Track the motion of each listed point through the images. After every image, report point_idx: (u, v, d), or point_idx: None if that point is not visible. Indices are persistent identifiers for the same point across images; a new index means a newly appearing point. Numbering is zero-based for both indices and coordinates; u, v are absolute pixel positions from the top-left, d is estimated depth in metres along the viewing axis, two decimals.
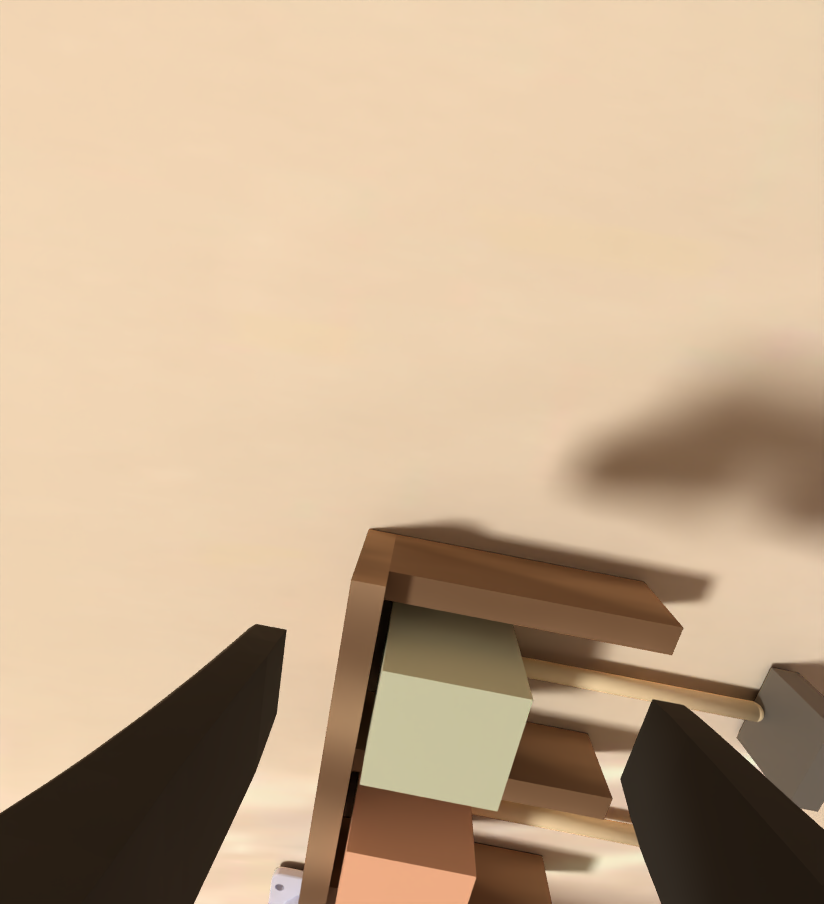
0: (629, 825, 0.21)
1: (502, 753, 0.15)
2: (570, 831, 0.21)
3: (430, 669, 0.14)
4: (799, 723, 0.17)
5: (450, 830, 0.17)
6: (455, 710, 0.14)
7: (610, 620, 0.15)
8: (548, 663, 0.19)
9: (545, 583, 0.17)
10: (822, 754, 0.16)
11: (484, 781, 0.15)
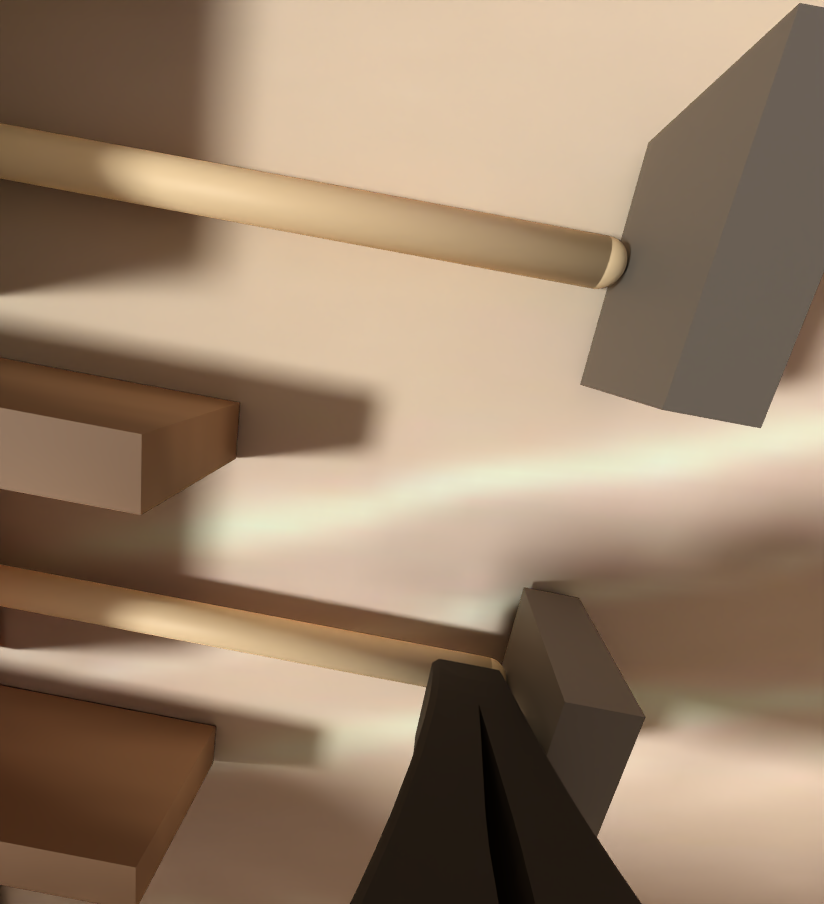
0: (359, 633, 0.09)
1: None
2: (209, 638, 0.09)
3: None
4: (700, 158, 0.05)
5: None
6: None
7: None
8: None
9: None
10: (767, 153, 0.04)
11: None
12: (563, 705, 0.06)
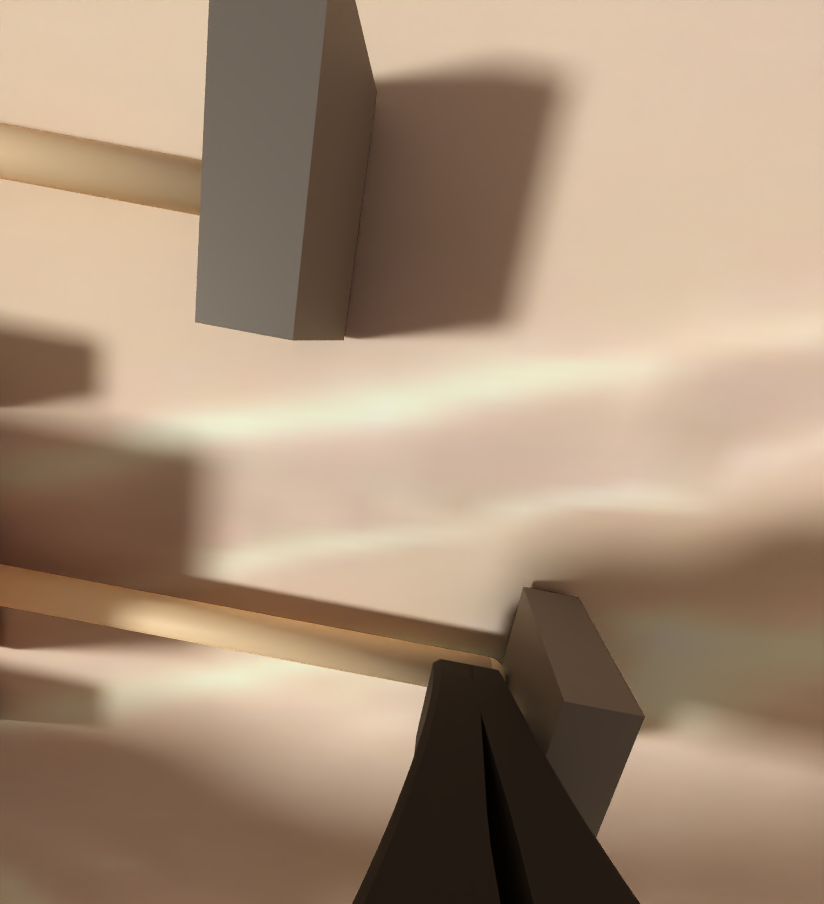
0: (359, 633, 0.09)
1: None
2: (208, 638, 0.09)
3: None
4: None
5: None
6: None
7: None
8: None
9: None
10: (221, 53, 0.04)
11: None
12: (562, 705, 0.06)
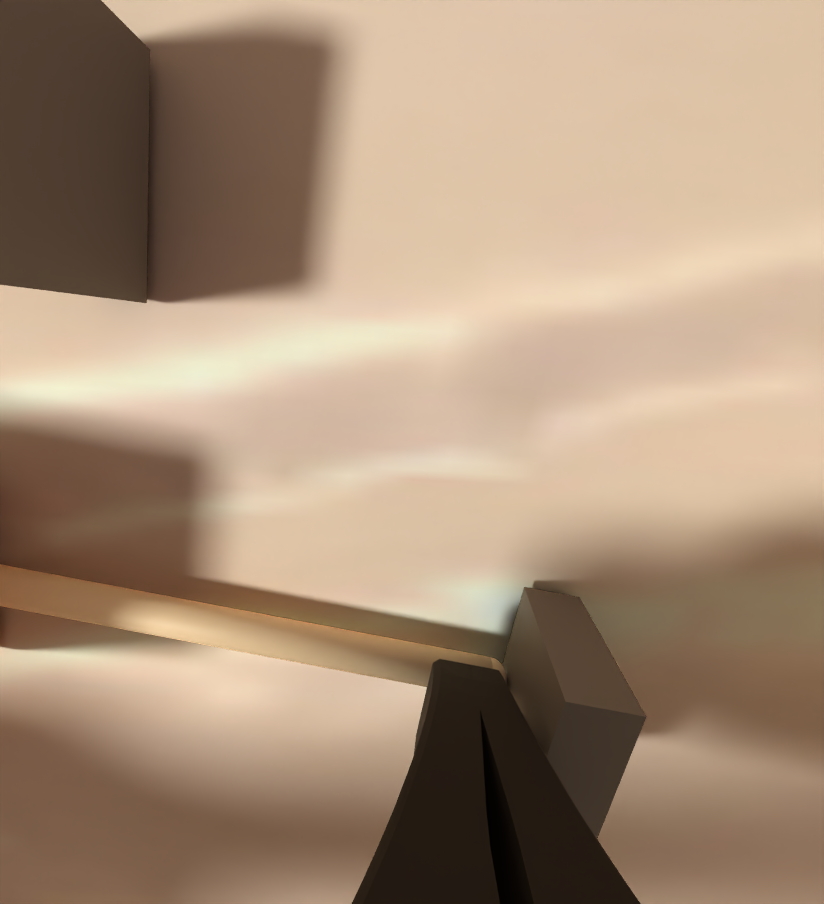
0: (359, 633, 0.09)
1: None
2: (209, 638, 0.09)
3: None
4: None
5: None
6: None
7: None
8: None
9: None
10: None
11: None
12: (564, 705, 0.06)
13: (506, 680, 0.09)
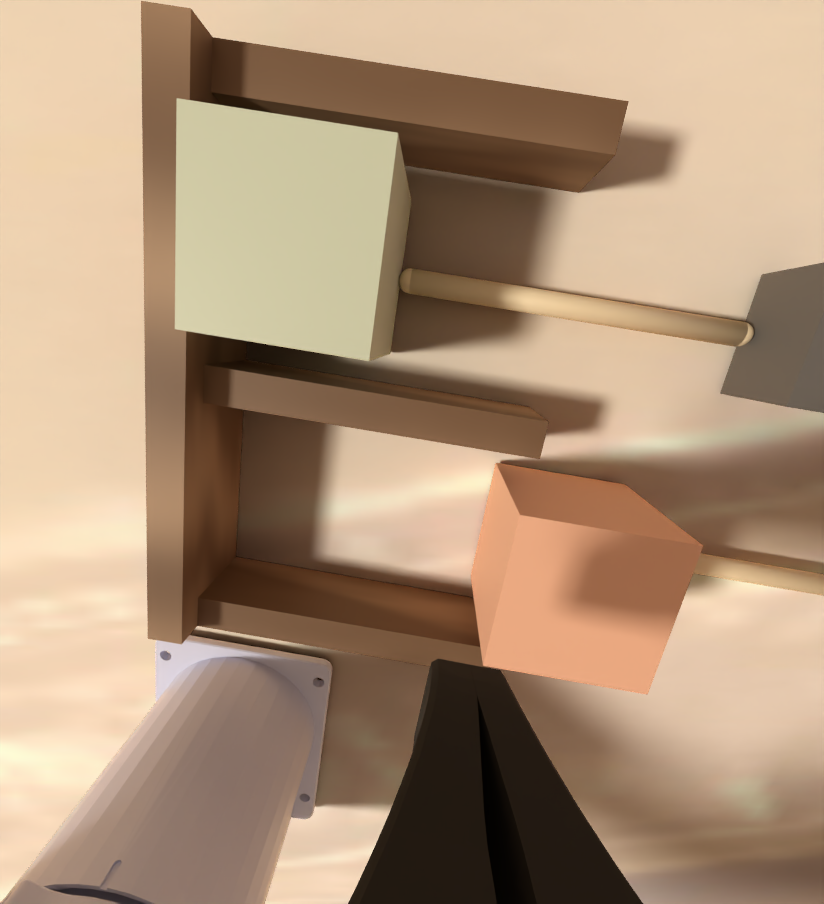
0: None
1: (364, 246, 0.10)
2: (763, 578, 0.16)
3: None
4: (799, 299, 0.13)
5: (644, 518, 0.13)
6: (289, 168, 0.10)
7: (525, 98, 0.11)
8: (467, 277, 0.14)
9: None
10: None
11: (345, 304, 0.10)
12: None
13: None
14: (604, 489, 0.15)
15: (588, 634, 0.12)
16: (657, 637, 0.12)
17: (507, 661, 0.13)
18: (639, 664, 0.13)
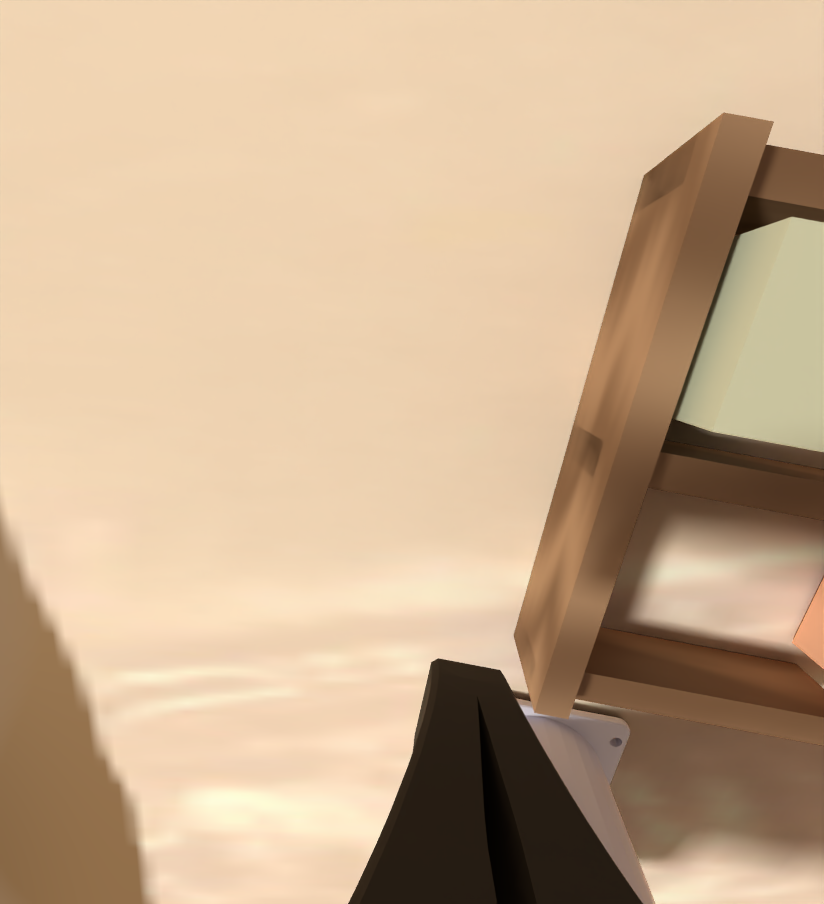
0: None
1: None
2: None
3: None
4: None
5: None
6: None
7: None
8: None
9: None
10: None
11: None
12: None
13: None
14: None
15: None
16: None
17: None
18: None
